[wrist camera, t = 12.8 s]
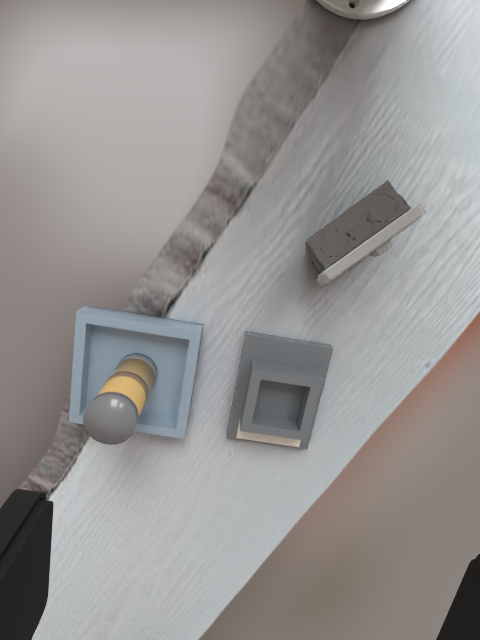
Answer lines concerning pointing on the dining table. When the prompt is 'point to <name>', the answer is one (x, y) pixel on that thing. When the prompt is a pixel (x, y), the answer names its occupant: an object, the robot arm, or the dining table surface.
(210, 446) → the dining table surface
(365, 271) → the dining table surface
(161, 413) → the tray
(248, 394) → the grey square socket holder
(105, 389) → the fuse
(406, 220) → the electrical switch
